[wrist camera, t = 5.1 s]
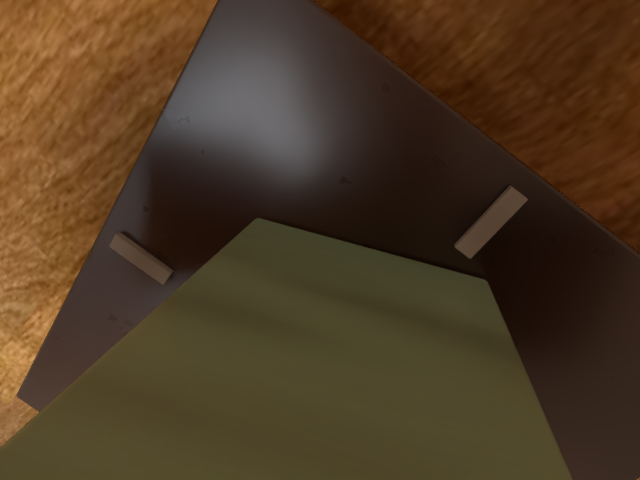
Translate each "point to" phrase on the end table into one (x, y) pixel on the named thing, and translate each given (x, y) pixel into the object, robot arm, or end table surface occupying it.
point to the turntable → (361, 214)
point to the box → (301, 378)
